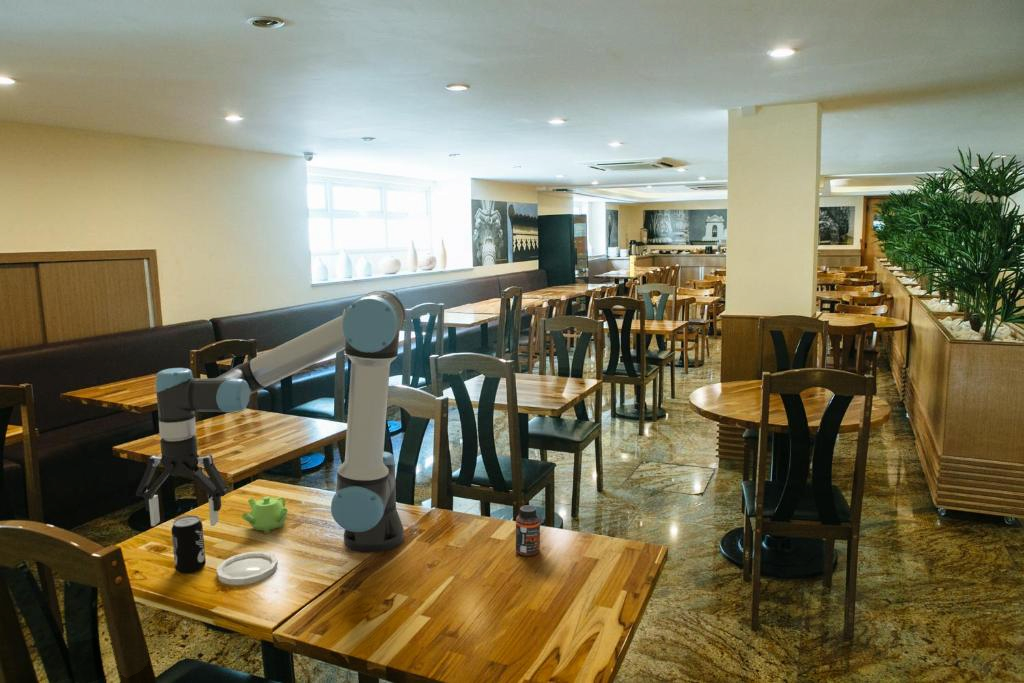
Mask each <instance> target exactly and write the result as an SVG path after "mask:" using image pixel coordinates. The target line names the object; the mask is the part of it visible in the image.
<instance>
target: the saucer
mask: <svg viewBox="0 0 1024 683" xmlns="http://www.w3.org/2000/svg"><path fill="white" fill-rule="evenodd" d="M278 562H279V561H278V558H277V557H276V556H275V554H274V553H273V554H272V553H271V552H267V551H248V552H243V553H239V554H234V555H232V556H230V557H229V558H227V559H225V560H223V561H222V562H221V563H220V564H218V566H217V568H216V575H217V579H218V581H219V582H220V583H222V584H224V585H227V586H238V587H240V586H247V585H252V584H256V583H259V582H261V581H264V580H266V579H268V578H270V577H271V576H272V575H273V574H275V572H276V571H277V569H278V565H279V563H278Z"/></svg>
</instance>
